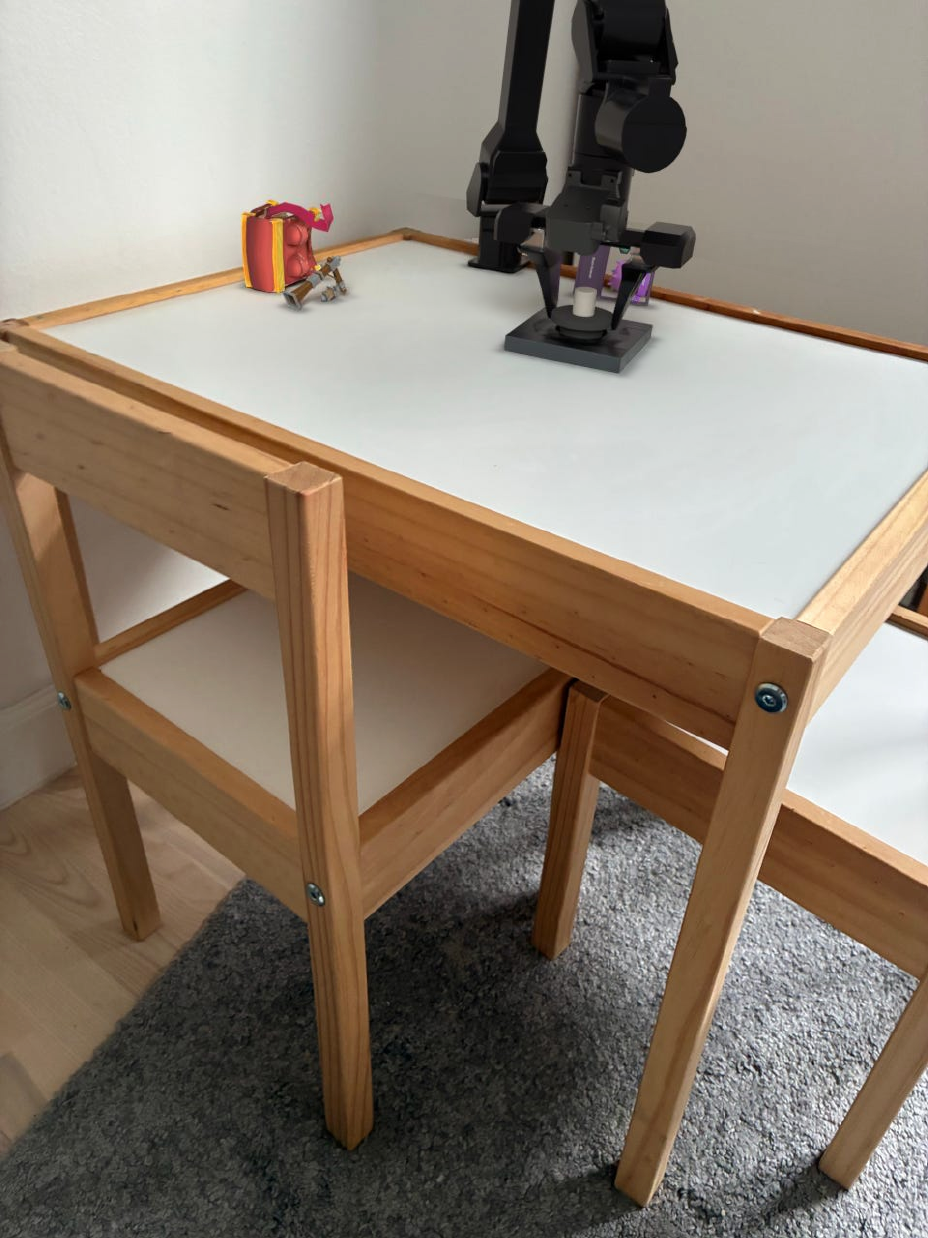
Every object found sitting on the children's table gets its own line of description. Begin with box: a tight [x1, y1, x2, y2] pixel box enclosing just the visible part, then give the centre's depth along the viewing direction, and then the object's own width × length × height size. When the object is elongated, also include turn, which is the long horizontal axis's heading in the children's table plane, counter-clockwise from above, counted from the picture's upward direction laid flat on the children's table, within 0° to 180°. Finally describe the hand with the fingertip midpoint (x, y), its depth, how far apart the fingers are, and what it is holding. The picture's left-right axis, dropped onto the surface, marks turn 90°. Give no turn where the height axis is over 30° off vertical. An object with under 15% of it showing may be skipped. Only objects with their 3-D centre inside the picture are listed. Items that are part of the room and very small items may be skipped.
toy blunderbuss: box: [281, 255, 348, 311], centre depth 99 cm, size 2×8×4 cm, turn 138°
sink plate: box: [503, 306, 654, 374], centre depth 92 cm, size 12×12×2 cm
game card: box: [572, 245, 656, 307], centre depth 106 cm, size 7×5×9 cm
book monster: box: [240, 199, 334, 294], centre depth 101 cm, size 11×9×12 cm
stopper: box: [551, 287, 613, 339], centre depth 91 cm, size 6×6×4 cm
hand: (582, 323), depth 91 cm, fingers closed on stopper, 6 cm apart
